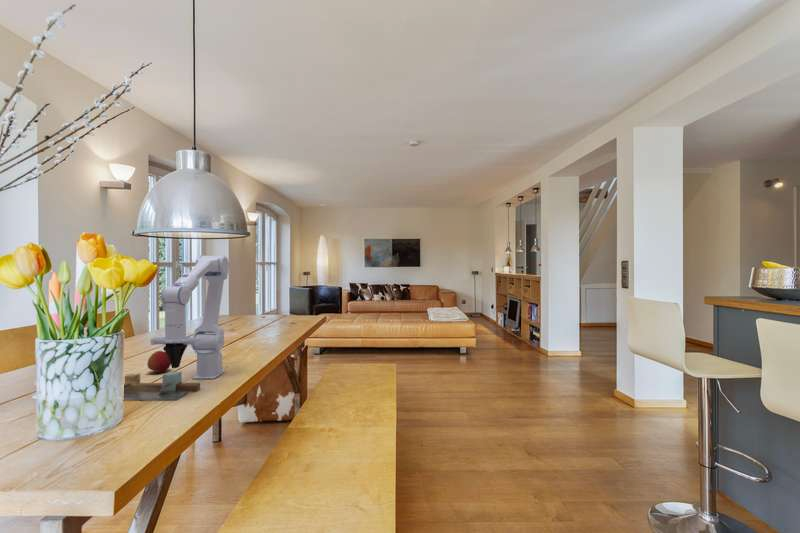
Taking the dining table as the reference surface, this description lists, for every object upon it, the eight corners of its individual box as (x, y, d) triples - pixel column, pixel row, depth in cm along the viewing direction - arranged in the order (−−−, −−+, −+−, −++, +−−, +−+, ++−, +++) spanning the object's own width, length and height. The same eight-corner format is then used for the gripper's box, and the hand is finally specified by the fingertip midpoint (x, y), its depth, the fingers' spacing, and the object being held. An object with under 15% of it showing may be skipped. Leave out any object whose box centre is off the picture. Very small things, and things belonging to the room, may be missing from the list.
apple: (175, 372, 152) (175, 350, 152) (151, 376, 146) (151, 354, 146) (167, 368, 157) (167, 347, 157) (144, 372, 151) (144, 351, 151)
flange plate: (117, 392, 128) (117, 390, 128) (188, 392, 129) (188, 390, 129) (102, 400, 121) (102, 397, 121) (176, 400, 122) (176, 397, 122)
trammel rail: (126, 388, 132) (126, 373, 132) (200, 388, 133) (200, 373, 133) (109, 397, 124) (109, 380, 124) (188, 396, 125) (188, 380, 125)
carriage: (169, 387, 133) (169, 371, 133) (182, 387, 133) (182, 371, 133) (154, 396, 124) (154, 379, 124) (167, 396, 125) (167, 379, 124)
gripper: (144, 326, 123) (144, 370, 123) (192, 326, 123) (192, 371, 123) (157, 322, 130) (158, 364, 130) (203, 322, 130) (203, 364, 130)
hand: (175, 367), depth 127 cm, fingers closed
